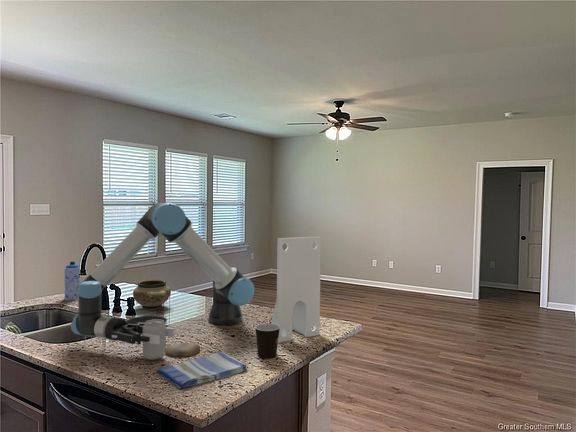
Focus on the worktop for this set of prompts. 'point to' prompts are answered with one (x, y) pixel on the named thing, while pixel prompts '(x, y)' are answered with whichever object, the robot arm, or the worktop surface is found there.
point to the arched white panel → (298, 287)
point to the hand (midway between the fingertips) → (166, 336)
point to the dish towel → (202, 370)
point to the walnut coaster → (182, 349)
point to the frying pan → (145, 319)
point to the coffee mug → (267, 340)
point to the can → (155, 350)
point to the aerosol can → (71, 281)
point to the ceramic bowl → (151, 294)
